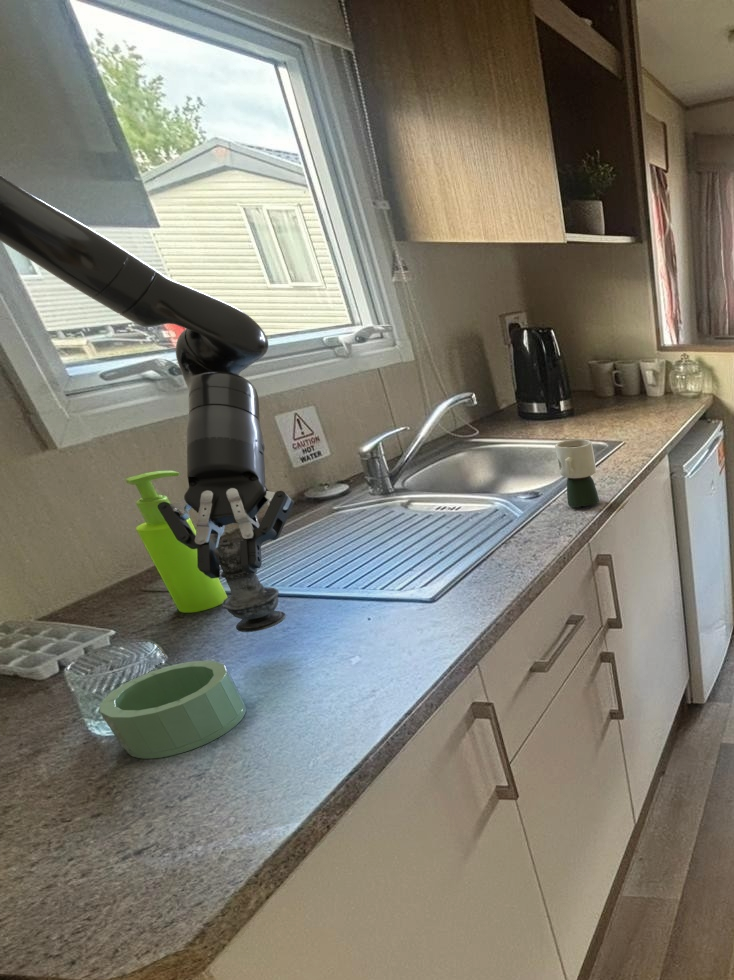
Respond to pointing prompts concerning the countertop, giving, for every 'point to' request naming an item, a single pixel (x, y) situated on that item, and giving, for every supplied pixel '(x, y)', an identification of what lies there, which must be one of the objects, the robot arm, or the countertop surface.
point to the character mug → (578, 471)
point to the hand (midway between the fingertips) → (230, 572)
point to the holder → (173, 709)
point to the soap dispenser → (173, 552)
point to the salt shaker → (247, 592)
